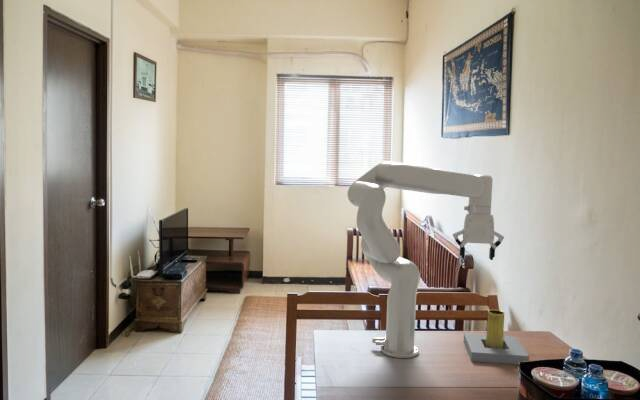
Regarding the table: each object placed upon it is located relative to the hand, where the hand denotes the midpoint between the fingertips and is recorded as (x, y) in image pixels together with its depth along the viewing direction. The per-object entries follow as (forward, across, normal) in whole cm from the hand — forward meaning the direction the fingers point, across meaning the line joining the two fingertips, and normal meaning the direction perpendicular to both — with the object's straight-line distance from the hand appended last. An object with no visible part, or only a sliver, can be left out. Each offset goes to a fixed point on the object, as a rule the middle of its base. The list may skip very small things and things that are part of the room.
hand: (476, 258), depth 193 cm
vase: (+31, +6, -9) cm, 32 cm away
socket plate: (+30, +6, -9) cm, 32 cm away
